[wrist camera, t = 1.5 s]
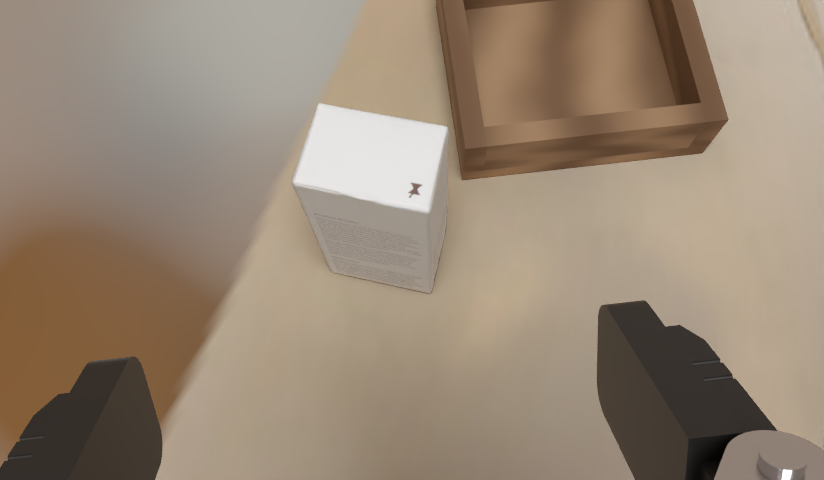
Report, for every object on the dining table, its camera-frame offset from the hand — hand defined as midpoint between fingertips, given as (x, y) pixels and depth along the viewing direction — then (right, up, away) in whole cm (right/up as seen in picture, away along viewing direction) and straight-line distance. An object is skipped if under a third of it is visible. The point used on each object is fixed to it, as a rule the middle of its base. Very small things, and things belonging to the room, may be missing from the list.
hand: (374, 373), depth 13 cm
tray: (+10, +13, +32) cm, 36 cm away
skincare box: (-1, +2, +29) cm, 29 cm away
